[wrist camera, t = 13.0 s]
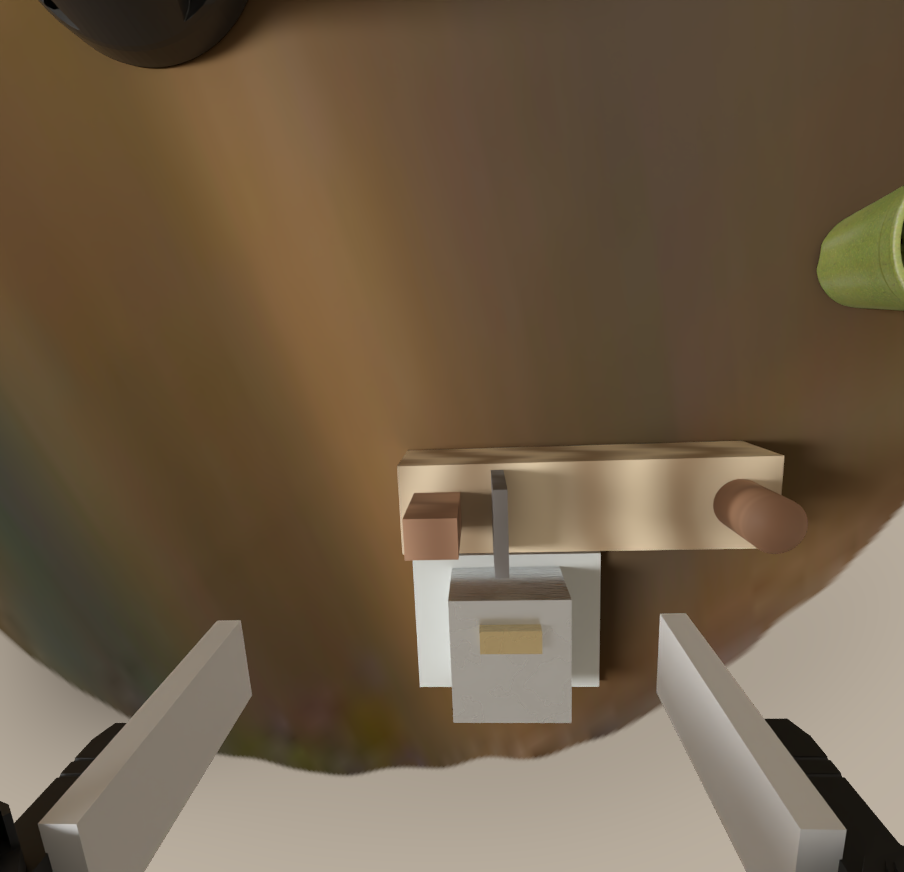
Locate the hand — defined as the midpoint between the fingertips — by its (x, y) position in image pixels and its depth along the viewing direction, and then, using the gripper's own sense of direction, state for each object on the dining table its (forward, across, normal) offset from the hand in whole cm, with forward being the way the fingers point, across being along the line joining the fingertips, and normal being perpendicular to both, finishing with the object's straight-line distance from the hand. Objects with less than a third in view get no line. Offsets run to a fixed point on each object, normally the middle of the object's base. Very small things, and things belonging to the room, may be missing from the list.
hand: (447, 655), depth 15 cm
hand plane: (+22, +8, -2) cm, 23 cm away
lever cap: (+20, +3, -12) cm, 24 cm away
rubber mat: (+21, +3, -12) cm, 25 cm away
